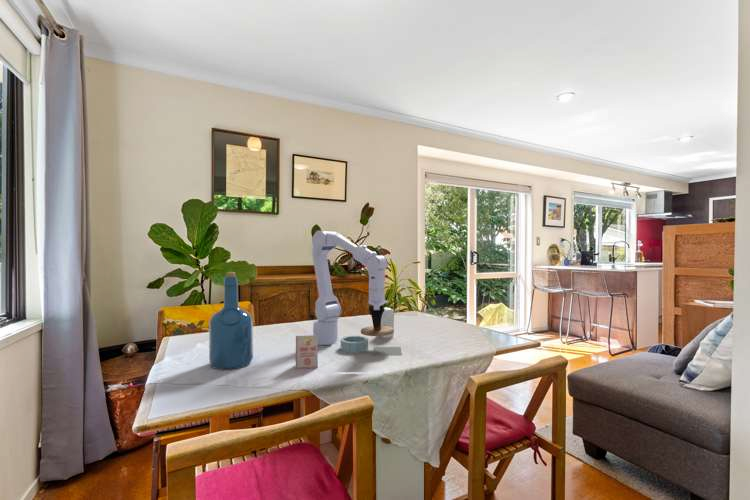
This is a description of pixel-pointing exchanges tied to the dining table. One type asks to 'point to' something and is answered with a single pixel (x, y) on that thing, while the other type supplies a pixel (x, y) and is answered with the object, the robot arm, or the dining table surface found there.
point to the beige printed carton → (306, 352)
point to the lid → (377, 331)
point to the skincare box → (388, 320)
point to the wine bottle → (230, 331)
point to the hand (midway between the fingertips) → (376, 326)
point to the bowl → (354, 344)
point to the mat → (387, 351)
